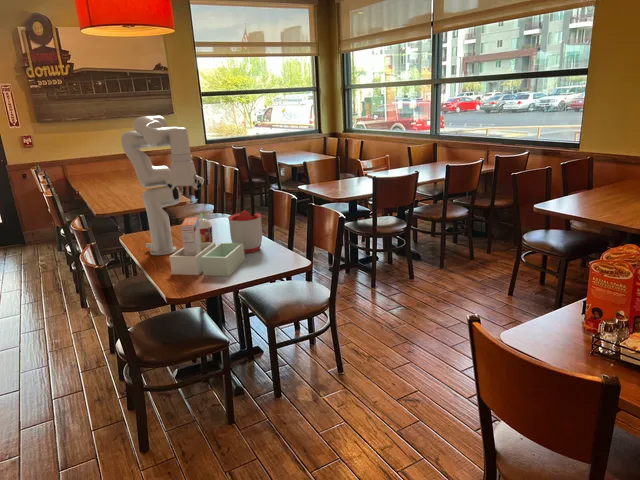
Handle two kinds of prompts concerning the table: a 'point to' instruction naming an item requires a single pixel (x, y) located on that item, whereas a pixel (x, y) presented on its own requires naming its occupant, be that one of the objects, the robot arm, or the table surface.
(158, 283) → the table surface
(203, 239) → the smoothie
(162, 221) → the robot arm
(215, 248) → the bin
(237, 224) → the citrus juicer
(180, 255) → the white open tray
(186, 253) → the cracker box
